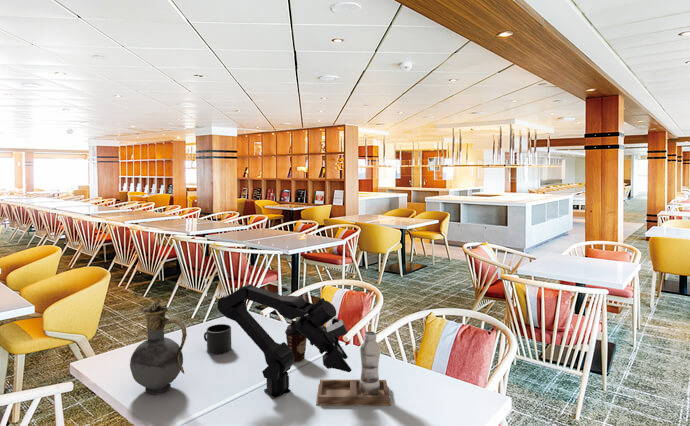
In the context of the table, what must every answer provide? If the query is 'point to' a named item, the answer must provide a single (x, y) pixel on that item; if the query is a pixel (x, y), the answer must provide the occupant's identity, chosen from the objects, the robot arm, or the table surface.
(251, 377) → the table surface
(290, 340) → the coffee cup
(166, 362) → the pitcher
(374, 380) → the silver metal bottle
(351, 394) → the wooden divided tray
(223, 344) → the mug
